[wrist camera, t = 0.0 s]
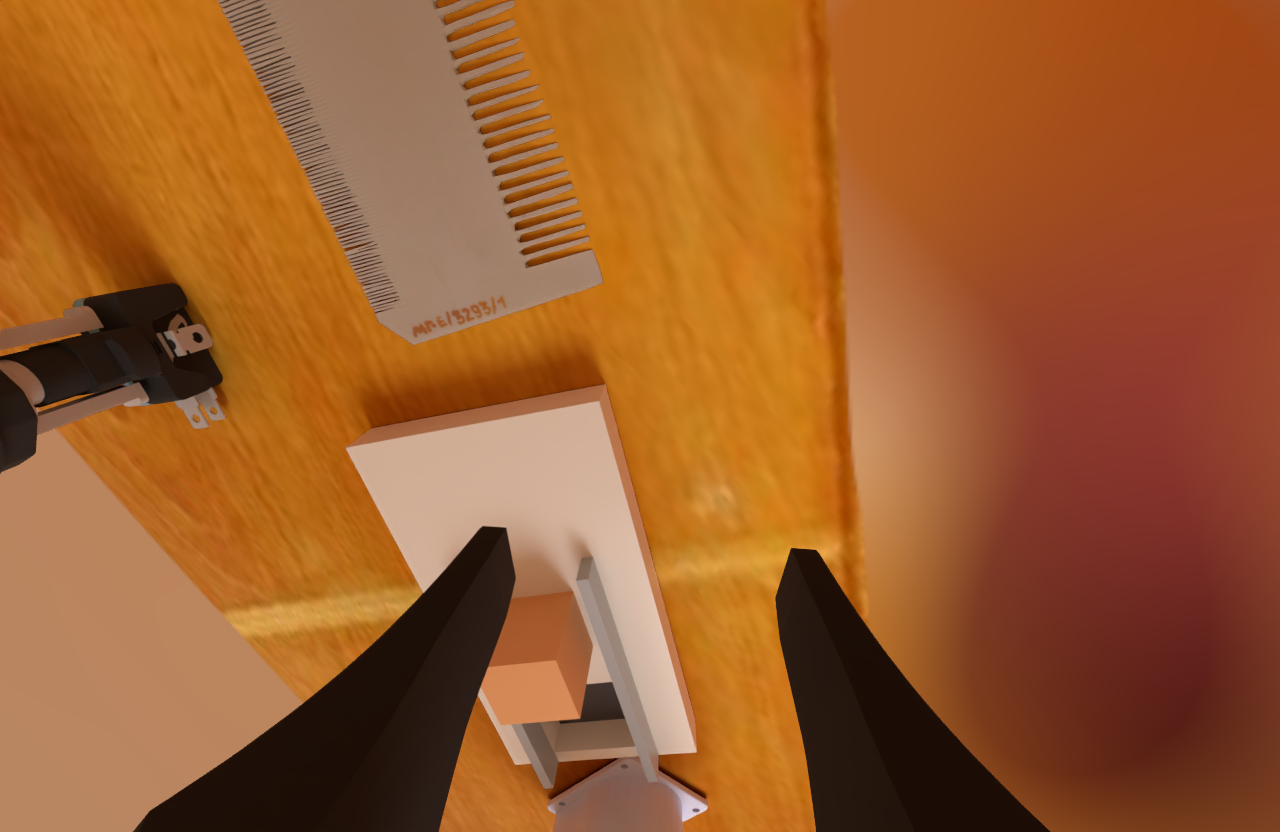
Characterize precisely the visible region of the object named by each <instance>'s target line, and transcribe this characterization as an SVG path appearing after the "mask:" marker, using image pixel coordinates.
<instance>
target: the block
mask: <svg viewBox="0 0 1280 832" xmlns="http://www.w3.org/2000/svg"><path fill="white" fill-rule="evenodd" d="M592 650H593V644H592V641H591V638H590V636H589V633H588V630H587V627H586V625H585V622H584V619H583V616H582V614H581V611H580V608H579V606H578V603H577V600H576V597H575V595H574V592H573V591H570V592H562V593H554V594H546V595H538V596H530V597H522V598H514V599H511V601H510V605H509V609H508V613H507V617H506V620H505V623H504V625H503V628H502V631H501V634H500V636H499V639H498V642H497V645H496V647H495V650H494V653H493V655H492V658H491V661H490V663H489V666H488V669H487V671H486V674H485V677H484V679H483V682H482V685H481V688H482V690H483V692H484V694H485V696H486V698H487V700H488V702H489V704H490V705H491V707H492V709H493V711H494V713H495V715H496V717H497V719H498V721H499V723H500V724H501V725H511V724H523V723H535V722H547V721H559V720H571V719H580V717H581V712H582V706H583V700H584V695H585V689H586V683H587V678H588V672H589V666H590V661H591V655H592Z"/></svg>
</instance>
